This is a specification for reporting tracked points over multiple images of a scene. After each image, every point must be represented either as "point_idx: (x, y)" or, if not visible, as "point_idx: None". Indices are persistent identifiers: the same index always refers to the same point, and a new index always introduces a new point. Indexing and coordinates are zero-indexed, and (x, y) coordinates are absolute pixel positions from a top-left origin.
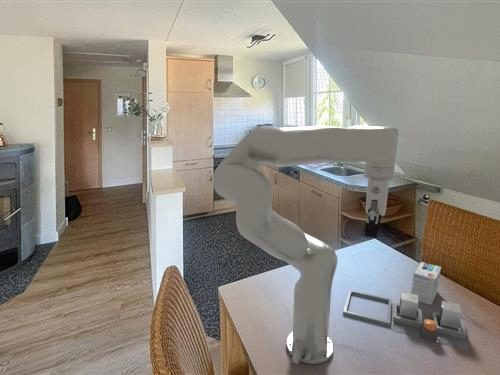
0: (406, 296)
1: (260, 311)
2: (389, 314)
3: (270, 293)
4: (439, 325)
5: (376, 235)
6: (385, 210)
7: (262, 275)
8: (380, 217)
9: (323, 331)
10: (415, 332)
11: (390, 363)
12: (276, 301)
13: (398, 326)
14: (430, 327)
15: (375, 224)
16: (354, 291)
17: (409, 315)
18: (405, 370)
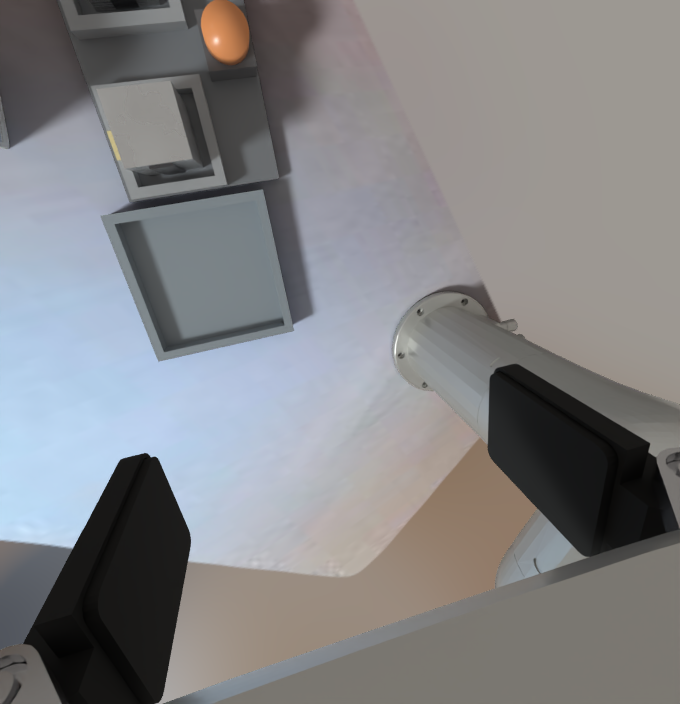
0: (150, 141)
1: (385, 476)
2: (212, 201)
3: (310, 503)
4: (138, 4)
5: (527, 375)
6: (623, 656)
7: (248, 563)
8: (104, 548)
9: (500, 327)
10: (239, 101)
11: (401, 159)
12: (331, 475)
13: (244, 162)
14: (248, 31)
15: (632, 467)
16: (156, 344)
17: (190, 127)
18: (406, 116)
